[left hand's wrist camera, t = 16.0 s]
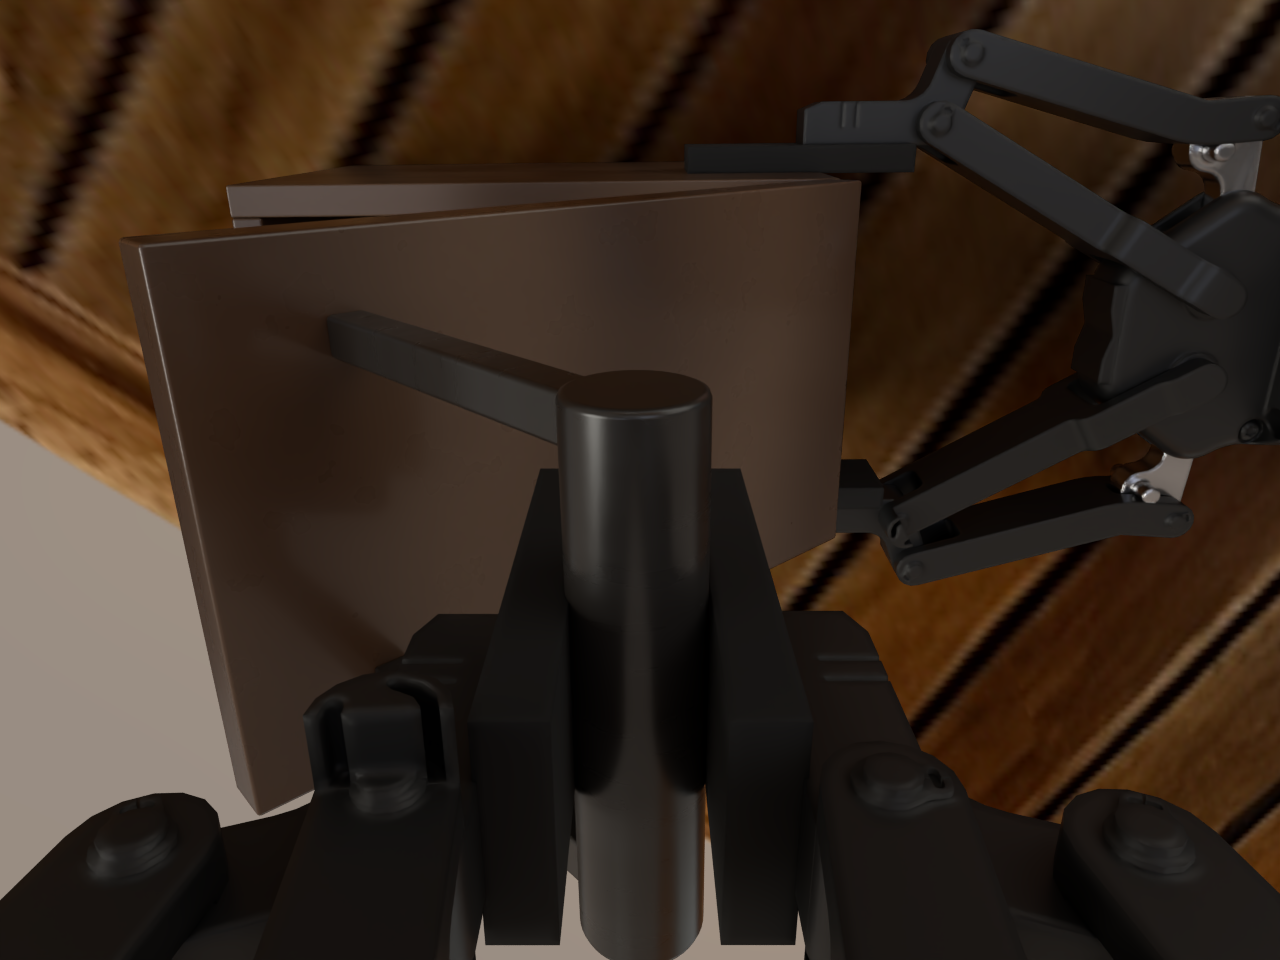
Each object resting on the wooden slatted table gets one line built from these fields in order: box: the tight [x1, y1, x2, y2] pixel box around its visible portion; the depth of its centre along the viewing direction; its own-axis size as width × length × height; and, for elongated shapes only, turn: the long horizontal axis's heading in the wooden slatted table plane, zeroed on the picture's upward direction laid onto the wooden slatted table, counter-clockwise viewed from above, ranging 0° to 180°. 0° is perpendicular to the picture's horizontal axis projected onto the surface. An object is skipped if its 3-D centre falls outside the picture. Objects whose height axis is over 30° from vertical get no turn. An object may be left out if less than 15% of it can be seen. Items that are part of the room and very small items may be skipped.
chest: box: [226, 161, 839, 228], centre depth 31 cm, size 16×10×11 cm, turn 91°
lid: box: [119, 179, 861, 960], centre depth 17 cm, size 17×10×9 cm
